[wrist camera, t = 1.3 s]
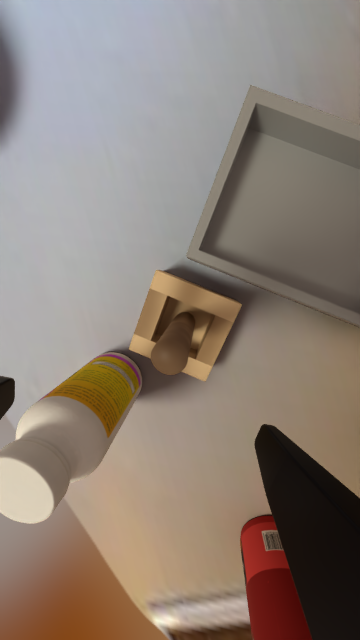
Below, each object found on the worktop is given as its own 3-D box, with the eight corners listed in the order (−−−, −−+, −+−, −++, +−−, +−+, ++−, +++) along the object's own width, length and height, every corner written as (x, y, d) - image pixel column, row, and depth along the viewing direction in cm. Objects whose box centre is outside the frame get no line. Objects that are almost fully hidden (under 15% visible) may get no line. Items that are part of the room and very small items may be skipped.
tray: (450, 196, 16) (506, 178, 13) (362, 328, 19) (391, 338, 16) (242, 119, 16) (250, 84, 13) (188, 258, 19) (185, 255, 16)
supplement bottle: (97, 341, 23) (-34, 422, 10) (150, 362, 22) (83, 471, 10) (85, 389, 24) (-41, 509, 12) (134, 409, 24) (59, 553, 12)
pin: (198, 316, 20) (193, 348, 11) (190, 335, 20) (179, 380, 12) (178, 308, 20) (158, 333, 11) (170, 327, 20) (145, 366, 12)
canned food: (226, 532, 26) (241, 705, 16) (271, 503, 24) (322, 677, 14) (268, 565, 27) (310, 756, 16) (315, 539, 25) (398, 736, 14)
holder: (236, 300, 20) (242, 304, 17) (205, 367, 22) (205, 381, 19) (163, 270, 20) (156, 269, 17) (138, 339, 22) (128, 349, 19)
